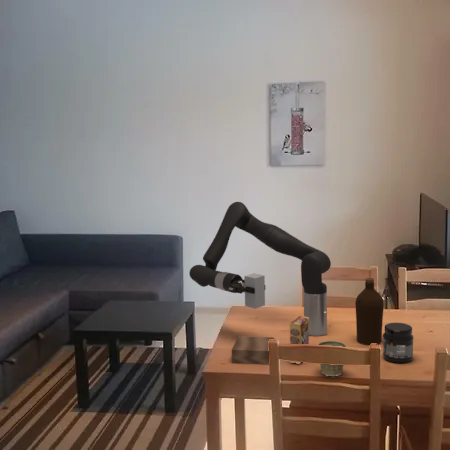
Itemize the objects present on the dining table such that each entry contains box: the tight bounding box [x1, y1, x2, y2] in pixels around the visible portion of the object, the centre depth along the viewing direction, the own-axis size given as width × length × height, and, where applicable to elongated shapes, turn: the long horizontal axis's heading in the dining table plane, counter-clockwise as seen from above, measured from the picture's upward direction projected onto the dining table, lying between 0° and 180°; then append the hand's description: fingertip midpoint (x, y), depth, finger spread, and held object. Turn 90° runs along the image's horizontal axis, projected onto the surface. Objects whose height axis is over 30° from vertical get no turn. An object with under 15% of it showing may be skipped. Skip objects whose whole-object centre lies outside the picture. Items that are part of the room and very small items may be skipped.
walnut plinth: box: [231, 335, 275, 365], centre depth 226 cm, size 14×14×5 cm
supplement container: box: [382, 322, 414, 364], centre depth 219 cm, size 10×10×12 cm
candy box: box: [289, 315, 310, 363], centre depth 220 cm, size 9×4×15 cm, turn 151°
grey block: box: [243, 272, 266, 309], centre depth 237 cm, size 6×6×12 cm
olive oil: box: [354, 277, 385, 346], centre depth 236 cm, size 11×11×25 cm
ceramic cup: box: [316, 340, 348, 376], centre depth 207 cm, size 13×10×10 cm
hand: (259, 289), depth 235 cm, fingers closed on grey block, 5 cm apart
